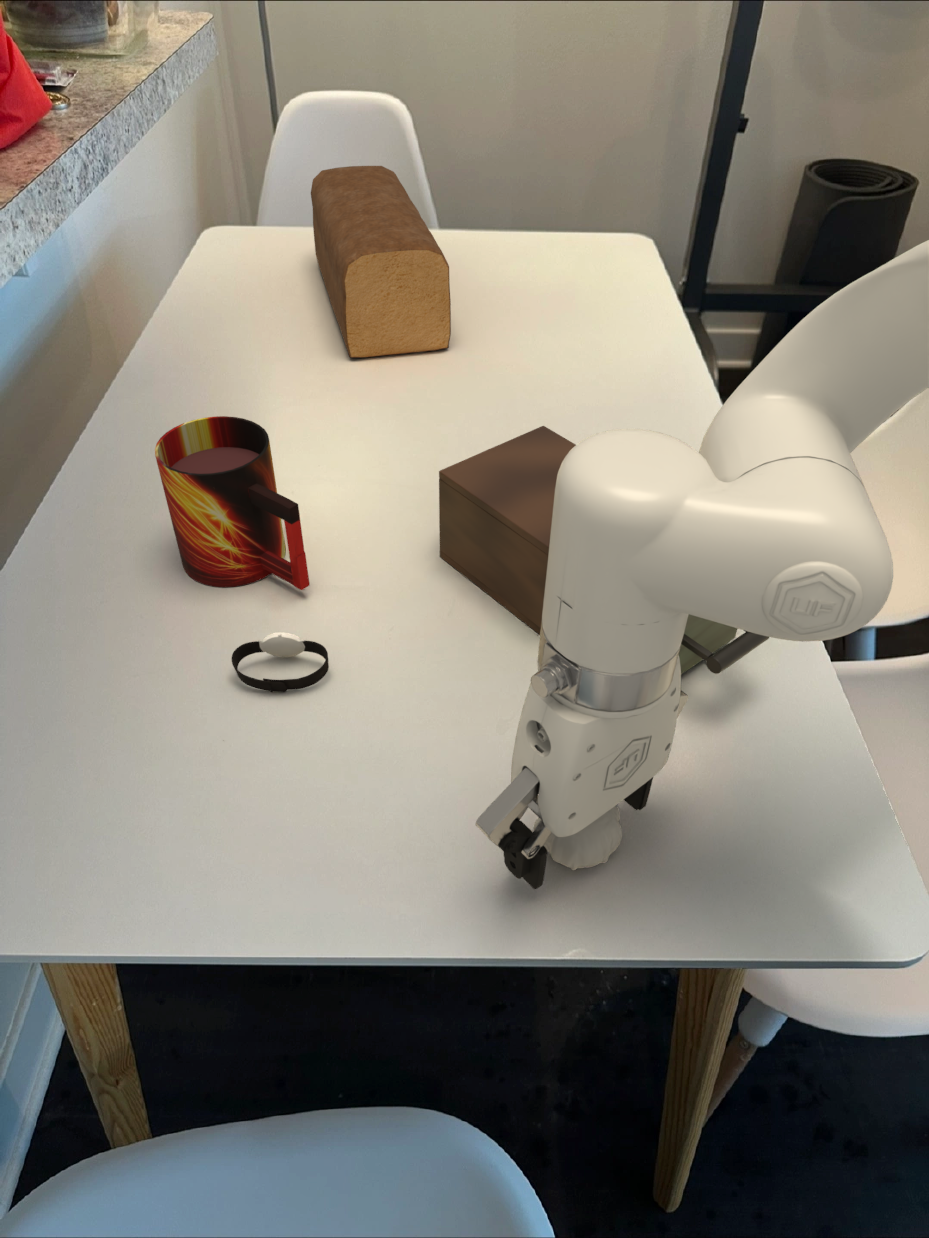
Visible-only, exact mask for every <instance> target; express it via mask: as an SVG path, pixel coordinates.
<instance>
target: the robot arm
mask: <svg viewBox="0 0 929 1238" xmlns="http://www.w3.org/2000/svg"><path fill="white" fill-rule="evenodd" d="M928 389H929V239H928V240H925V241H924V242H922V243H919V244H917V245H915V246H913V247H912V248H910V249H907V251H904V252H903V253H901V254H899V255H898V256H896V257H894V258H893V259H890V260H889V261H887V262H886V263H884V264H882V265H880V266H879V267H876V268H875V269H874V270H872V271H870V272H868V273H866V274H864V275H862V276H861V277H859V278H857V279H856V280H854V281H852V282H850V283H849V284H847V285H846V286H844V287H843V288H841V289H839V290H838V291H836V292H835V293H833V294H832V295H830V296H828V297H827V299H825V300H824V301H823V302H821V303H820V304H819V305H817V306H816V307H815V308H814V309H812V310H811V311H810V312H809V313H807V315H806V316H805V317H803V318H802V319H801V320H800V321H799V322H797V324H796V325H795V326H794V327H792V329H790V331H789V332H787V334H786V335H785V336H784V337H783V338H782V339H781V340H780V341H779V342H778V343H777V344H776V345H775V346H774V347H773V348H772V349H771V350H770V351H769V353H768V354H767V355H765V357H764V358H763V359H762V360H761V361H760V362H759V363H758V365H756V367H754V369H753V370H752V371H751V372H750V373H749V374H748V375H747V376H746V378H745V379H744V380H742V381H741V383H740V384H739V385H738V386H737V387H736V389H734V391H733V392H732V393H731V394H730V396H729V397H728V398H727V399H726V400H725V402H724V403H723V404H722V406H721V407H720V408H719V410H718V411H717V412H716V414H715V416H714V417H713V418H712V420H711V422H710V424H709V425H708V427H707V430H706V431H705V433H704V435H703V438H702V441H701V444H700V446H699V451H698V450H697V449H696V448H694V447H692V446H691V445H690V444H689V443H687V442H685V441H683V440H681V439H680V438H677V437H674V436H672V435H671V434H670V435H669V434H666V433H663V432H659V431H654V430H650V429H649V430H648V429H643V428H616V429H610V430H605V431H601V432H597V433H595V434H592V435H589V436H588V437H585V438H584V439H582V440H581V441H579V442H578V443H577V444H576V446H574V447H573V448H572V449H571V450H570V451H569V453H568V454H567V455H566V457H565V458H564V460H563V461H562V464H561V466H560V468H559V471H558V474H557V480H556V486H555V494H554V504H553V515H552V525H551V535H550V545H549V555H548V565H547V574H546V584H545V593H544V602H543V612H542V621H541V631H540V634H539V641H538V642H539V643H538V651H537V660H536V661H537V663H536V664H537V671H536V673H535V674H533V675H531V677H530V683H529V686H528V689H527V691H526V696H525V699H524V702H523V705H522V709H521V712H520V717H519V721H518V725H517V730H516V734H515V739H514V744H513V745H514V746H513V750H512V751H513V752H512V758H511V768H510V783H509V784H508V786H506V787H505V789H504V790H502V792H501V793H500V794H499V795H497V797H496V798H495V799H494V800H493V802H492V803H490V805H489V806H488V807H487V808H486V809H485V810H484V811H483V812H482V813H481V814H480V815H479V816H478V818H477V819H476V821H475V826H476V828H478V830H480V832H481V833H482V834H484V836H485V837H487V839H489V841H491V842H492V843H493V844H494V845H495V846H497V847H498V848H499V849H500V850H501V851H502V852H503V859H504V861H503V862H504V864H505V865H504V866H505V867H506V869H507V870H508V871H509V873H511V874H512V875H513V876H514V877H515V878H516V879H518V880H520V879H523V880H524V881H525V882H526V883H527V884H528V886H530V887H531V888H532V889H533V890H537V889H539V888H541V886H543V883H544V879H545V874H546V873H545V872H546V866H547V858H548V851H547V849H546V848H545V847H544V846H543V845H544V843H545V842H546V840H547V839H548V837H549V836H550V834H551V833H553V834H554V835H556V836H557V837H566V836H570V835H573V834H575V833H577V832H579V831H581V830H582V829H584V828H585V827H587V826H588V825H589V824H591V823H592V822H594V821H595V820H596V819H598V818H599V817H601V816H602V815H603V814H605V813H606V812H607V811H609V810H610V809H612V808H613V807H614V806H616V805H617V806H618V804H620V803H621V802H623V801H624V802H625V803H626V804H627V805H629V807H631V808H632V809H633V810H635V811H641V810H643V809H644V808H645V807H646V806H647V803H648V800H649V796H650V792H651V788H652V783H653V780H654V777H655V776H656V775H657V774H659V772H660V771H661V770H662V769H663V768H664V766H665V765H666V764H667V762H668V760H669V757H670V753H671V750H672V745H673V741H674V737H675V732H676V728H677V722H678V718H679V716H680V715H681V713H682V711H683V709H684V707H685V706H686V704H687V702H688V700H689V697H690V696H689V694H688V693H685V692H684V691H683V690H682V674H681V667H680V658H679V651H680V647H681V643H682V639H683V635H684V631H685V627H686V623H687V619H688V615H689V614H690V615H693V616H697V617H700V618H704V619H707V620H711V621H714V622H718V623H721V624H724V625H728V626H731V627H734V628H738V629H737V630H742V631H744V630H745V631H748V632H752V633H755V634H759V635H763V636H768V637H769V638H772V639H778V640H785V641H790V642H791V641H792V642H823V641H829V640H835V639H838V638H842V637H845V636H848V635H850V634H852V633H854V632H856V631H858V630H860V629H861V628H863V627H865V626H867V625H868V624H869V623H870V622H871V621H872V620H873V619H874V618H876V616H877V615H879V613H880V612H881V611H882V610H883V608H884V606H885V605H886V603H887V602H888V598H889V596H890V593H891V591H892V587H893V582H894V561H893V556H892V552H891V548H890V544H889V541H888V537H887V535H886V533H885V531H884V529H883V526H882V524H881V521H880V519H879V517H878V515H877V512H876V510H875V508H874V506H873V505H874V504H873V503H872V501H871V499H870V496H869V493H868V491H867V489H866V486H865V484H864V482H863V479H862V477H861V475H860V472H859V470H858V467H857V466H856V463H855V461H854V459H853V456H852V453H853V452H854V451H855V450H856V449H857V448H858V447H859V446H860V445H861V444H862V443H863V442H865V440H866V439H868V437H870V436H871V435H872V434H873V433H874V432H875V431H876V430H877V429H879V427H881V426H882V425H883V424H884V423H885V422H886V421H887V420H888V419H889V418H890V417H891V416H893V415H894V414H895V413H896V412H898V411H899V410H900V409H901V408H903V407H904V406H905V405H906V404H907V403H909V402H910V401H911V400H913V399H914V398H916V397H917V396H919V395H920V394H922V393H923V392H925V391H926V390H928ZM745 631H744V632H745ZM528 809H529V810H530V811H531V812H533V813H534V815H536V816H537V818H540V819H541V820H540V822H539V823H538V825H537V826H536V828H535V829H534V831H533V830H531V828H529V827H528V826H527V824H525V823H524V822H523V821H522V820H521V819H522V818H523V816H524V815H525V813H526V812H527V810H528Z"/></svg>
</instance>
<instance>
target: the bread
mask: <svg viewBox="0 0 929 1238" xmlns="http://www.w3.org/2000/svg"><path fill="white" fill-rule="evenodd" d="M310 199H311V207H312V229H313V240H314V241H313V242H314V251H315V257H316V261H317V265H318V267H319V270H320V274H321V275H322V280H323V282H324V286H325V289H326V292H327V295H328V298H329V301H330V305H331V308H332V310H333V313H334V317H335V318H336V321H337V323H338V327H339V330H340V333H341V336H342V339H343V342H344V344H345V345H344V346H345V348H346V351H347V353H348V357H349V358H356V359H357V358H358V359H365V358H366V359H367V358H375V357H384V356H395V355H404V354H414V353H423V352H424V353H425V352H434V351H435V352H436V351H439V350H440V351H441V350H445V349H448V348H449V347H450V340H451V336H452V335H451V334H452V324H451V323H452V319H451V318H452V316H451V315H452V314H451V313H452V312H451V311H452V310H451V309H452V308H451V305H452V304H451V303H452V302H451V301H452V300H451V286H450V265H449V263H448V260H447V258H446V257H445V255H444V253H443V250H442V249H441V247H440V246H439V244H438V242H437V241H436V239H435V237H434V234H432V232H431V231H430V229H429V228H428V226H427V224H426V222H425V220H423V218H422V216H421V214H420V211H419V210H418V208H417V207H416V205H415V204H414V202H413V201H412V199H411V198H410V196H409V194H408V192H407V191H406V189H405V187H404V185H403V184H402V183H401V181H400V178H398V176H397V174H396V173H395V172H394V171H393V170H391V169H389V168H387V167H385V166H383V165H352V166H351V165H350V166H340V167H333V168H328V169H323V170H320V171H319V173H317V175H316V176H314V178H312V183H311V189H310Z"/></svg>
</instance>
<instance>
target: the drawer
mask: <svg viewBox="0 0 929 1238" xmlns="http://www.w3.org/2000/svg"><path fill="white" fill-rule="evenodd" d="M738 630H739V629H738V628H734V627H731V626H728V625H724V624H721V623H718V622H714V621H711V620H707V619H704V618H700V617H697V616H693V615H690V614H689V615H688V619H687V623H686V627H685V631H684V635H683V639H682V643H681V647H680V651H679V658H680V667H681V675H682V674H684V673H686V672H687V671H688V670H690V669H691V668H693V667H694V666H696V665H697V664H699V663H700V662H702V661H705V664H706V667H707V669H708V671H710V673H712V674H715V675H718V674H721V673H723V672H724V671H725V670H727V669H728V668H729V667H731V666H732V665H733V664H735V663H736V662H738V661H739V660H740V659H742V658H744V657H745V656H746V655H748V654H749V653H751V652H752V651H753V650H755V649H756V648H758V647H759V646H760V645H762V644H764V643H765V642H766V641H768V640H769V639H770V637H768V636H763V635H759V634H755V633H752V632H748V631H745V630H743V633H742V634H741V635H739V636H738V637H737V638H736V636H737V632H738Z"/></svg>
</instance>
